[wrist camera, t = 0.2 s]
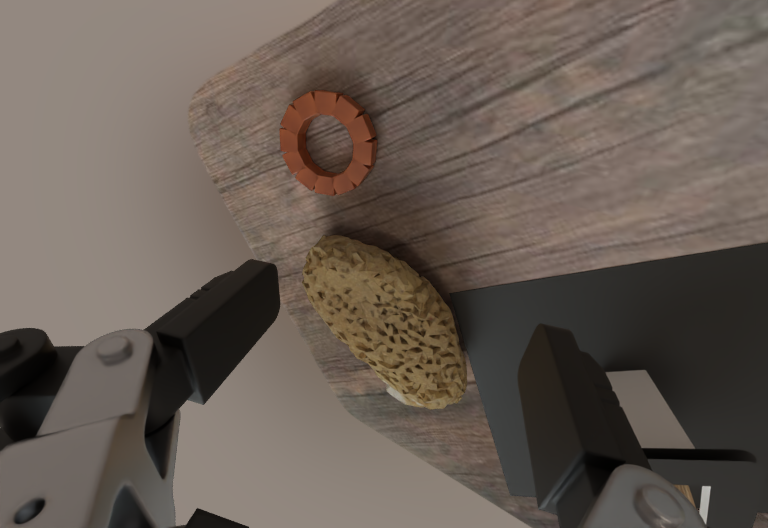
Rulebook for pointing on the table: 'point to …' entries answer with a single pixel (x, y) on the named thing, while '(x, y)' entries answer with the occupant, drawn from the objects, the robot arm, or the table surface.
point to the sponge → (388, 320)
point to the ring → (295, 141)
